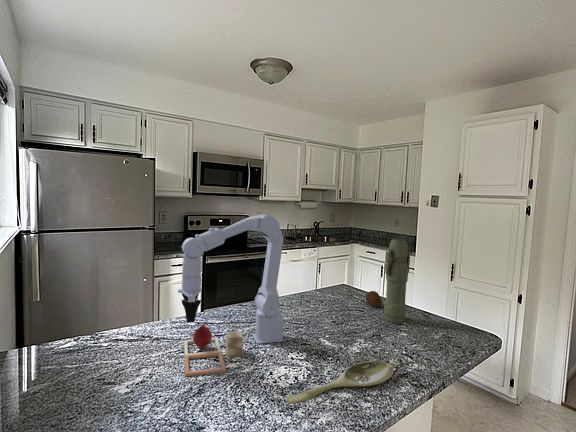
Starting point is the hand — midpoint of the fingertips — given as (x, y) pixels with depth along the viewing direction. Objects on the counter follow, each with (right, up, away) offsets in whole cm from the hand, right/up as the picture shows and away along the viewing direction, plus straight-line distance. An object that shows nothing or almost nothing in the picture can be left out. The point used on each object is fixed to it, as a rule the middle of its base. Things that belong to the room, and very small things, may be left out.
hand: (190, 317), depth 106 cm
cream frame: (+3, -11, +2) cm, 11 cm away
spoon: (+46, -14, -16) cm, 51 cm away
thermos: (+77, -12, +36) cm, 86 cm away
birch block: (+14, -11, 0) cm, 18 cm away
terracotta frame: (+7, -11, -9) cm, 16 cm away
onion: (+3, -11, +2) cm, 11 cm away
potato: (+73, -11, +56) cm, 93 cm away
